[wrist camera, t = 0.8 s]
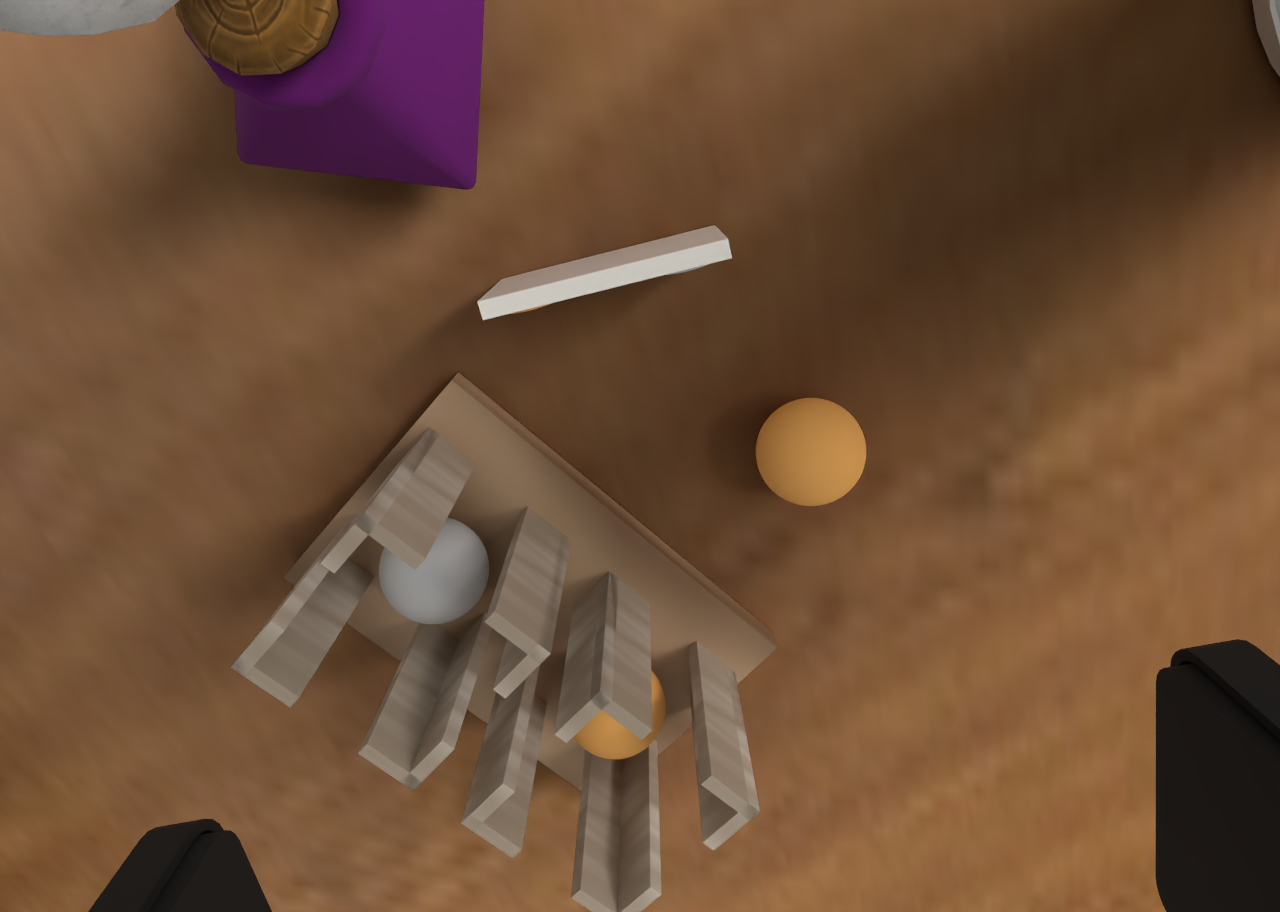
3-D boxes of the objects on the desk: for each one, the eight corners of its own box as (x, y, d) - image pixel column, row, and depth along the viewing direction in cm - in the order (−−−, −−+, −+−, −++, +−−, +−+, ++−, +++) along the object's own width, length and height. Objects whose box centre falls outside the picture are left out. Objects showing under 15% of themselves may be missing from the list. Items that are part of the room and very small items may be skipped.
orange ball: (801, 364, 32) (822, 392, 29) (873, 431, 33) (902, 467, 30) (728, 438, 33) (739, 474, 30) (799, 501, 34) (819, 544, 31)
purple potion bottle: (504, -53, 28) (289, -372, 11) (492, 186, 30) (301, 233, 13) (272, -83, 27) (-322, -457, 11) (279, 161, 30) (-192, 176, 13)
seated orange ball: (612, 617, 35) (608, 674, 31) (684, 673, 36) (689, 735, 32) (549, 679, 36) (538, 741, 32) (620, 732, 37) (618, 799, 33)
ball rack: (458, 372, 33) (391, 452, 24) (773, 632, 36) (814, 783, 28) (294, 564, 35) (181, 698, 27) (602, 787, 39) (591, 968, 30)
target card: (502, 278, 31) (476, 301, 27) (714, 225, 31) (728, 238, 26) (507, 298, 32) (484, 325, 27) (718, 245, 31) (732, 262, 26)
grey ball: (436, 479, 33) (410, 522, 29) (517, 542, 34) (502, 592, 30) (375, 549, 34) (341, 599, 30) (455, 609, 35) (432, 664, 31)
